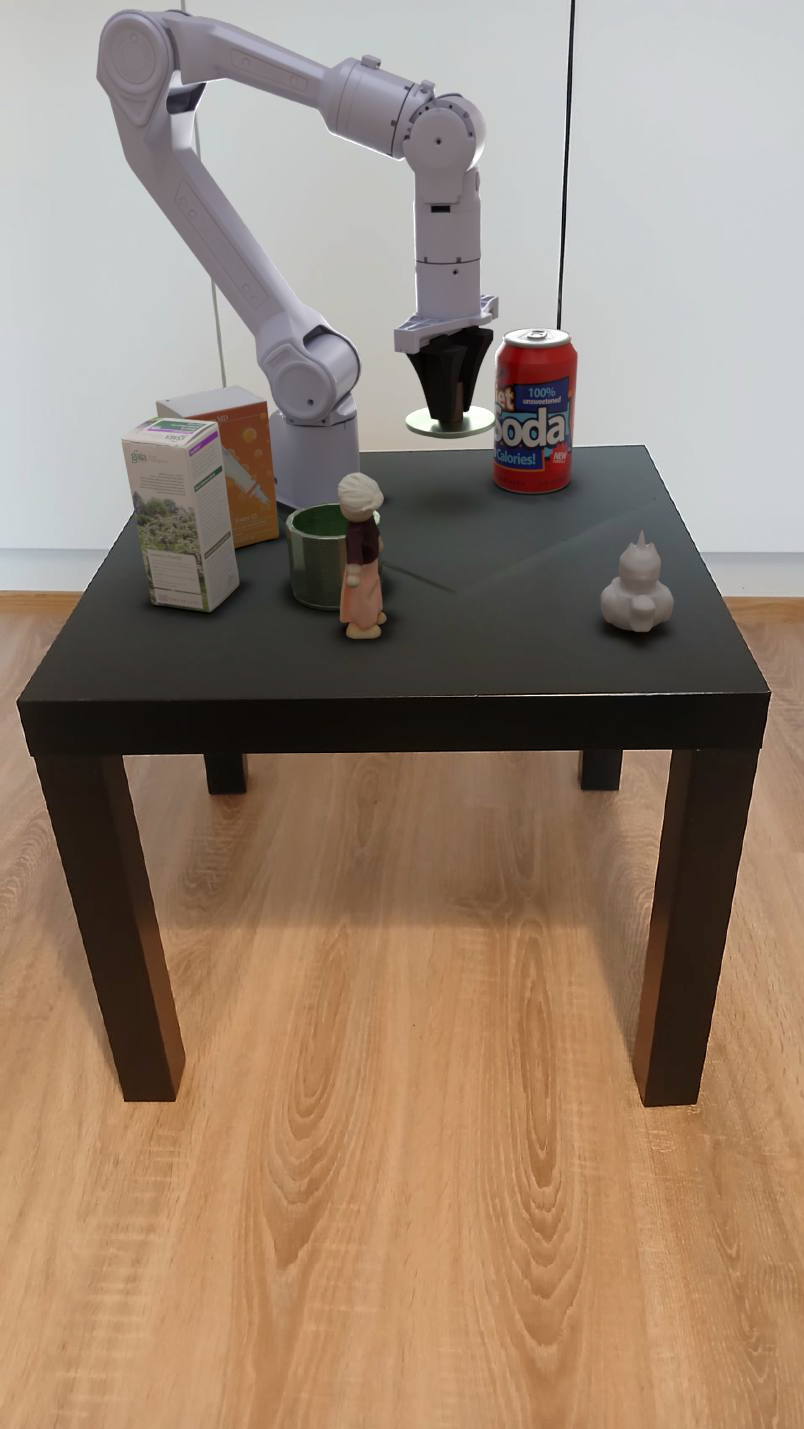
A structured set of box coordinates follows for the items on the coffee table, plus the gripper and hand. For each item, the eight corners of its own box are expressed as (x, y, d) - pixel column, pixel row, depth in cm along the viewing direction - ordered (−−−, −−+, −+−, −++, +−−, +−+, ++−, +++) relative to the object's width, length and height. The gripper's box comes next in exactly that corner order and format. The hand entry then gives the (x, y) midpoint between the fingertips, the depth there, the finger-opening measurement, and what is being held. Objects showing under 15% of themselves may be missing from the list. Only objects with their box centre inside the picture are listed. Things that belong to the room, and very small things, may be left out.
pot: (274, 590, 90) (267, 520, 86) (342, 563, 94) (338, 494, 90) (332, 620, 85) (326, 546, 81) (401, 589, 89) (398, 518, 86)
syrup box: (242, 584, 91) (221, 417, 83) (209, 616, 86) (184, 442, 78) (183, 577, 92) (157, 412, 84) (148, 607, 88) (117, 436, 80)
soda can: (573, 474, 110) (582, 325, 102) (566, 503, 104) (575, 346, 96) (499, 471, 112) (502, 324, 104) (487, 498, 106) (489, 344, 97)
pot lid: (388, 428, 100) (386, 379, 97) (457, 410, 104) (457, 362, 101) (443, 451, 94) (442, 399, 92) (514, 430, 98) (515, 380, 96)
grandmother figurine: (344, 606, 87) (334, 457, 80) (391, 606, 87) (385, 456, 80) (336, 653, 80) (325, 495, 73) (386, 653, 80) (380, 494, 73)
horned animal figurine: (661, 609, 85) (672, 515, 80) (677, 650, 79) (690, 552, 75) (593, 610, 85) (601, 517, 81) (605, 651, 79) (613, 553, 75)
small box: (202, 559, 95) (182, 417, 88) (174, 537, 100) (153, 399, 93) (282, 537, 99) (268, 398, 92) (251, 516, 103) (236, 382, 96)
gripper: (442, 277, 84) (445, 444, 91) (529, 246, 94) (525, 399, 101) (370, 270, 87) (378, 432, 95) (461, 242, 97) (462, 390, 105)
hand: (450, 414), depth 98 cm, fingers closed on pot lid, 2 cm apart
